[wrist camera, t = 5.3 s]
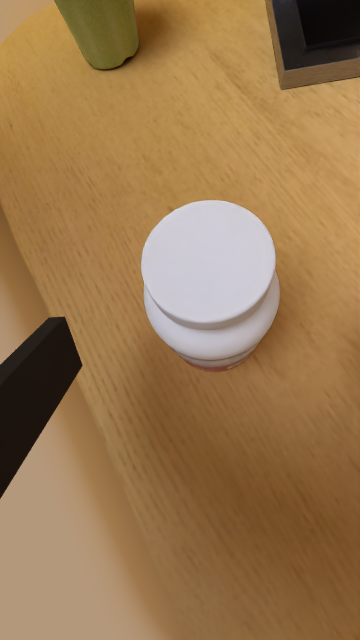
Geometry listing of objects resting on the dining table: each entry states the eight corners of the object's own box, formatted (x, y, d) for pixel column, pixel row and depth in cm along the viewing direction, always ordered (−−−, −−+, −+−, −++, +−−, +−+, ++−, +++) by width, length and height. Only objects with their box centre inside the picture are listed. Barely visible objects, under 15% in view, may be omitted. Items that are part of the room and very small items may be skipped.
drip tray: (452, 61, 23) (470, 34, 22) (280, 89, 25) (284, 67, 23) (409, -39, 27) (422, -69, 25) (263, -8, 29) (266, -34, 27)
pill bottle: (179, 286, 21) (139, 176, 11) (261, 295, 20) (306, 182, 10) (164, 365, 20) (100, 330, 9) (252, 380, 19) (293, 359, 8)
